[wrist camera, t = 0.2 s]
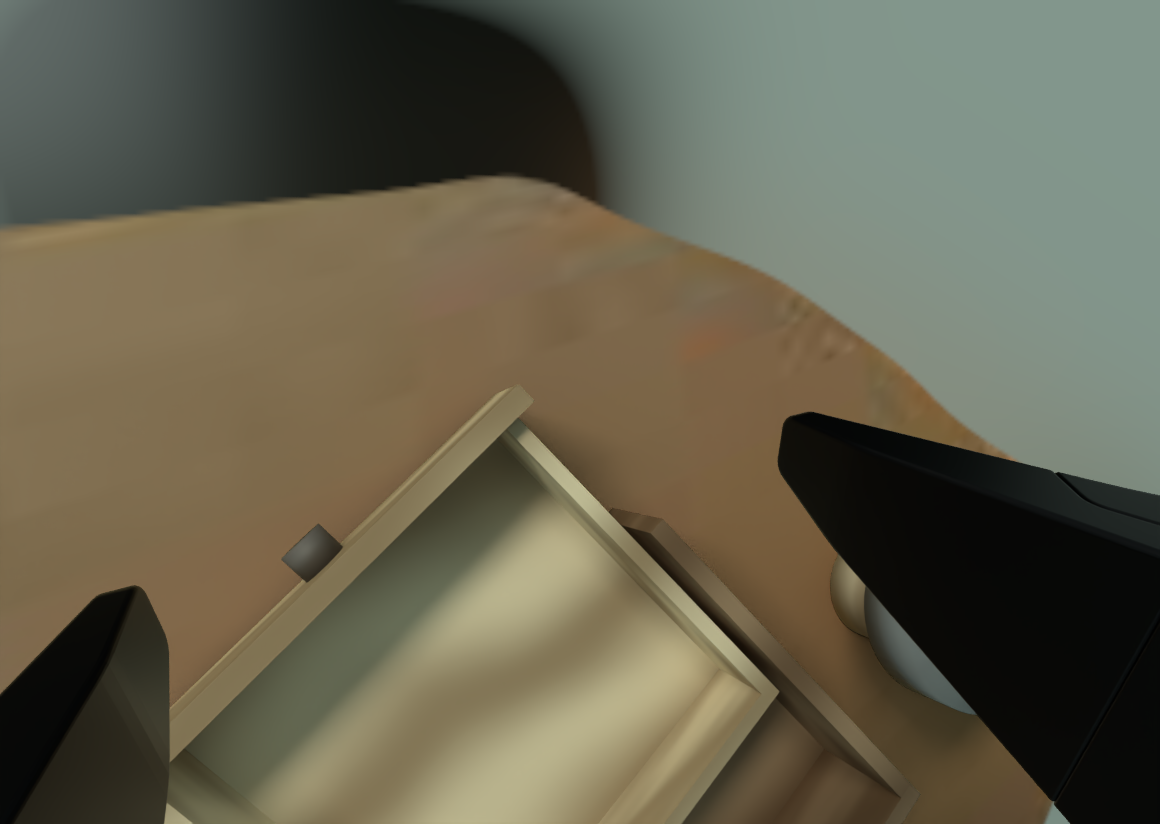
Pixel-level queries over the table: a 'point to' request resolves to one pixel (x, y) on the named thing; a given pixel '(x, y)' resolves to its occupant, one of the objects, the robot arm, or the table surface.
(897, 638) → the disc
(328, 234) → the table surface
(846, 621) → the stand
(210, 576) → the table surface
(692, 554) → the housing
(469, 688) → the tray
